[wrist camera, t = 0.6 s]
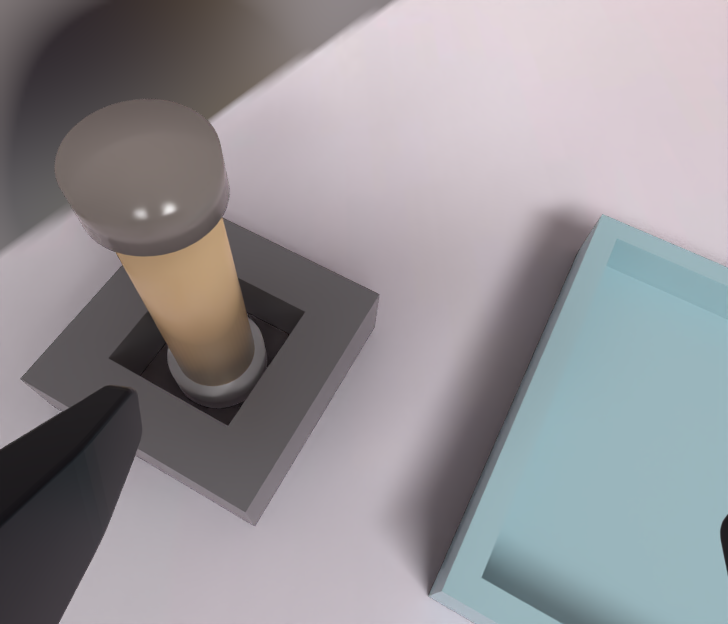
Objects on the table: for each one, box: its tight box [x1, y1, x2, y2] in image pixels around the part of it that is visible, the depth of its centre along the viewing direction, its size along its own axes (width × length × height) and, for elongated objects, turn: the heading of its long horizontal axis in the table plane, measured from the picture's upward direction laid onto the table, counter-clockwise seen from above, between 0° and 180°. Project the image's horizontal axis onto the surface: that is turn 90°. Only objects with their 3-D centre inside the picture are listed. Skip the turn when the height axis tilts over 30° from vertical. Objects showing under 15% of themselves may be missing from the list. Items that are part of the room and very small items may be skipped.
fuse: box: [54, 99, 267, 408], centre depth 20 cm, size 4×4×13 cm
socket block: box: [21, 218, 379, 526], centre depth 25 cm, size 10×10×3 cm
